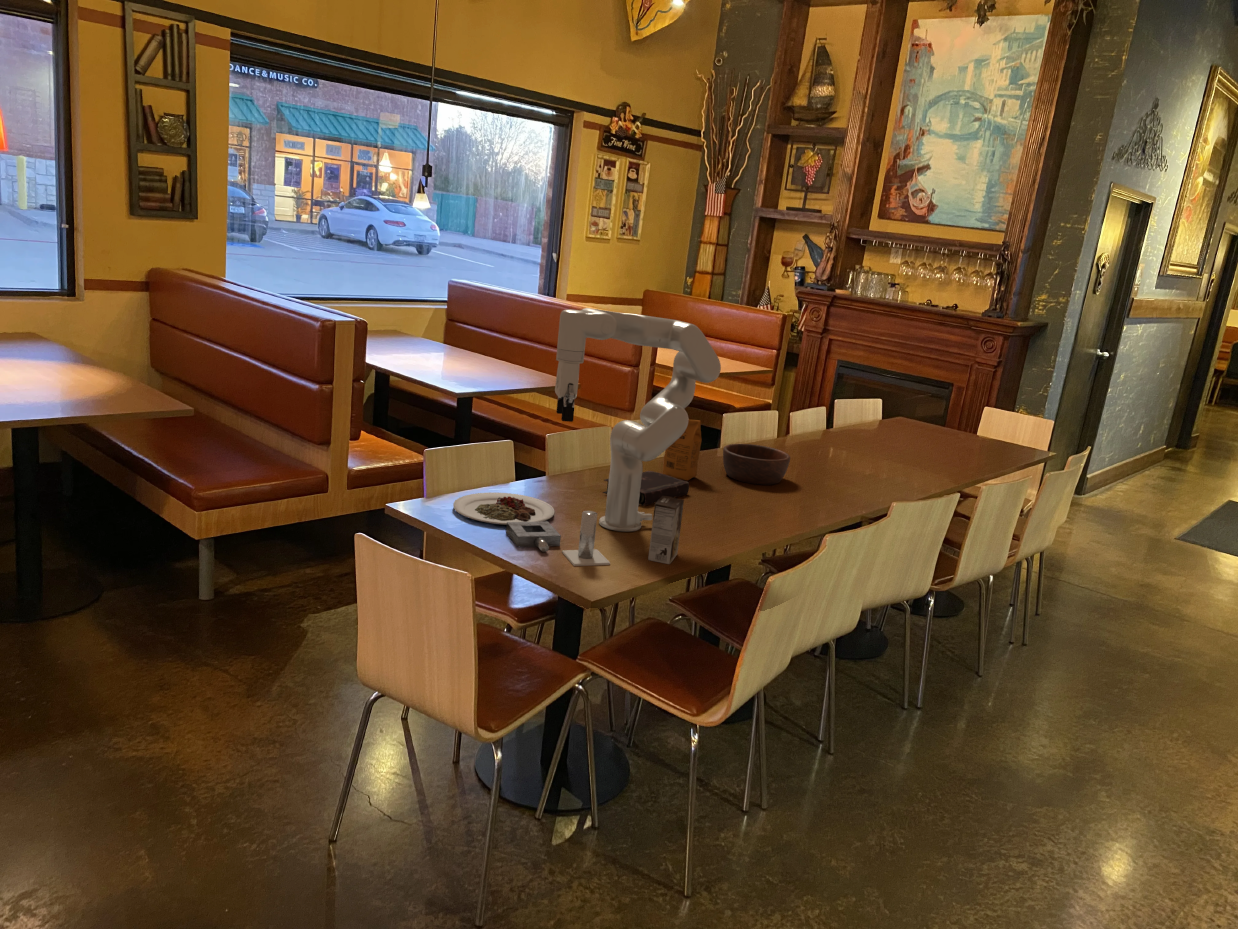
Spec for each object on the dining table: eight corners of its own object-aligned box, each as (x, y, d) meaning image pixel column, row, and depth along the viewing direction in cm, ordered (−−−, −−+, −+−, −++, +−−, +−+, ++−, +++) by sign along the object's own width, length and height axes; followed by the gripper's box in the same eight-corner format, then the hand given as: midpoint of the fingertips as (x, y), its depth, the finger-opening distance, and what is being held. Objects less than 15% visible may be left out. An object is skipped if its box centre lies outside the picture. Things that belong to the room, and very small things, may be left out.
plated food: (458, 528, 262) (459, 517, 262) (448, 497, 290) (448, 486, 289) (563, 530, 271) (564, 519, 270) (543, 499, 299) (544, 489, 298)
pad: (596, 551, 256) (597, 549, 256) (609, 564, 247) (610, 562, 247) (562, 552, 252) (562, 550, 252) (573, 566, 243) (574, 563, 243)
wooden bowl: (707, 475, 350) (711, 448, 348) (739, 465, 370) (742, 440, 368) (768, 491, 337) (772, 463, 334) (797, 480, 357) (801, 454, 355)
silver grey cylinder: (576, 553, 251) (581, 510, 248) (591, 553, 252) (595, 511, 249) (579, 558, 247) (583, 515, 244) (594, 559, 248) (598, 515, 245)
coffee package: (671, 470, 352) (678, 412, 346) (700, 478, 345) (708, 419, 340) (657, 474, 343) (664, 415, 338) (686, 482, 337) (694, 422, 331)
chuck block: (546, 531, 268) (547, 521, 267) (565, 552, 252) (566, 541, 252) (505, 532, 263) (506, 522, 262) (522, 553, 248) (523, 542, 247)
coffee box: (655, 550, 262) (662, 494, 258) (677, 554, 260) (685, 499, 256) (647, 560, 253) (653, 503, 249) (670, 564, 252) (677, 507, 248)
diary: (688, 495, 322) (690, 481, 320) (644, 507, 302) (646, 493, 301) (645, 482, 332) (647, 468, 331) (600, 493, 313) (601, 478, 312)
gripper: (552, 350, 263) (547, 410, 267) (561, 359, 247) (555, 423, 251) (578, 352, 265) (573, 411, 269) (589, 362, 249) (583, 425, 253)
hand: (564, 417), depth 260 cm, fingers open, 9 cm apart
